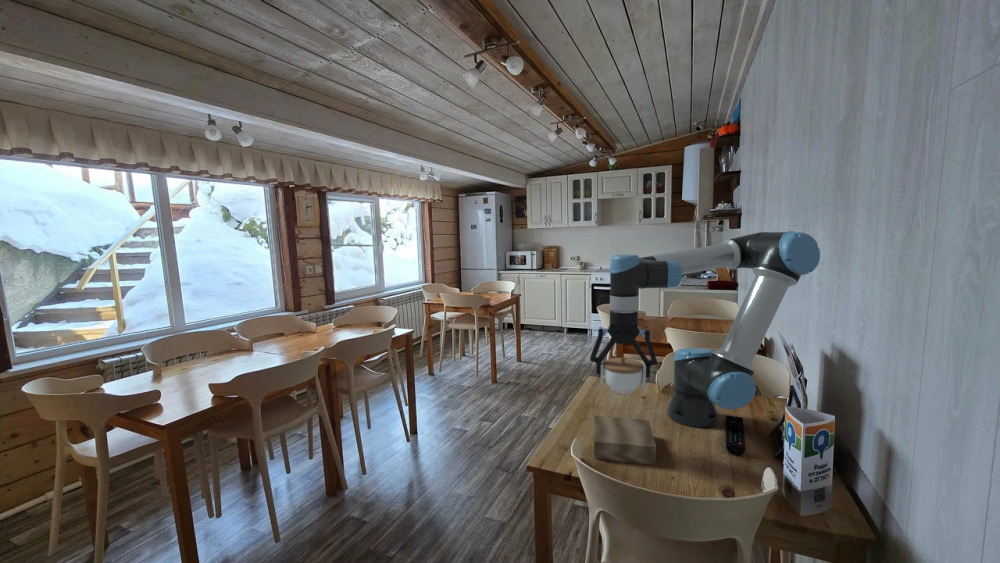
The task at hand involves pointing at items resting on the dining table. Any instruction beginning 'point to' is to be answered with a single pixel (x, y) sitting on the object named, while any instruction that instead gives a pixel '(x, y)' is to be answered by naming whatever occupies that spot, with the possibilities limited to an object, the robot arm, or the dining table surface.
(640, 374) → the lidded jar
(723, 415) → the dining table surface
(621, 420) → the block
